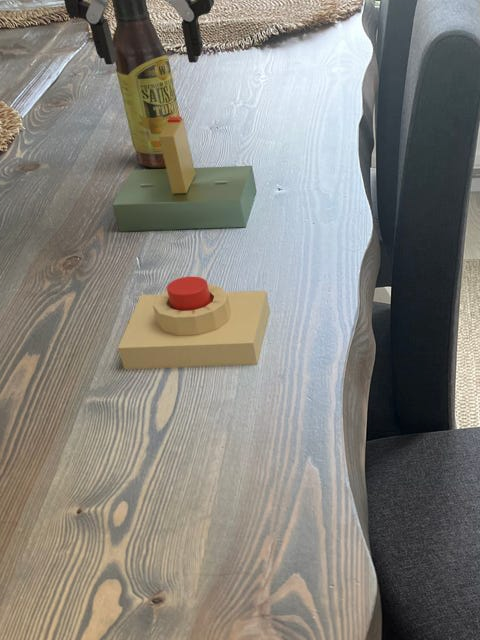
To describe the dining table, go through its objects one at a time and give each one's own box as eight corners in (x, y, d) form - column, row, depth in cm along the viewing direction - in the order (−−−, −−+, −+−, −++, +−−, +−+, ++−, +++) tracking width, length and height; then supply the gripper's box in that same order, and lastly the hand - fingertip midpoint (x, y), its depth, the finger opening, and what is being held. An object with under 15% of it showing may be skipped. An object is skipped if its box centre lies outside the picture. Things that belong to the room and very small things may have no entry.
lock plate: (119, 231, 111) (111, 203, 109) (138, 196, 119) (130, 168, 116) (245, 227, 112) (240, 198, 109) (256, 191, 119) (251, 164, 116)
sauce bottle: (163, 174, 123) (118, -15, 109) (127, 165, 126) (78, -21, 111) (200, 156, 127) (161, -29, 113) (164, 148, 129) (121, -34, 115)
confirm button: (167, 313, 90) (163, 295, 89) (175, 295, 93) (170, 276, 91) (208, 312, 90) (203, 293, 89) (214, 293, 93) (210, 275, 91)
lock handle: (186, 193, 111) (172, 133, 107) (172, 193, 111) (158, 134, 107) (195, 174, 115) (183, 115, 110) (181, 174, 115) (168, 116, 110)
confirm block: (124, 370, 90) (111, 329, 88) (146, 316, 97) (135, 276, 95) (257, 365, 91) (249, 323, 88) (270, 311, 98) (263, 272, 95)
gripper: (21, -125, 90) (75, 74, 101) (181, -129, 90) (217, 71, 102) (43, -139, 95) (92, 52, 107) (194, -142, 96) (226, 49, 107)
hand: (153, 61), depth 104 cm, fingers open, 8 cm apart
